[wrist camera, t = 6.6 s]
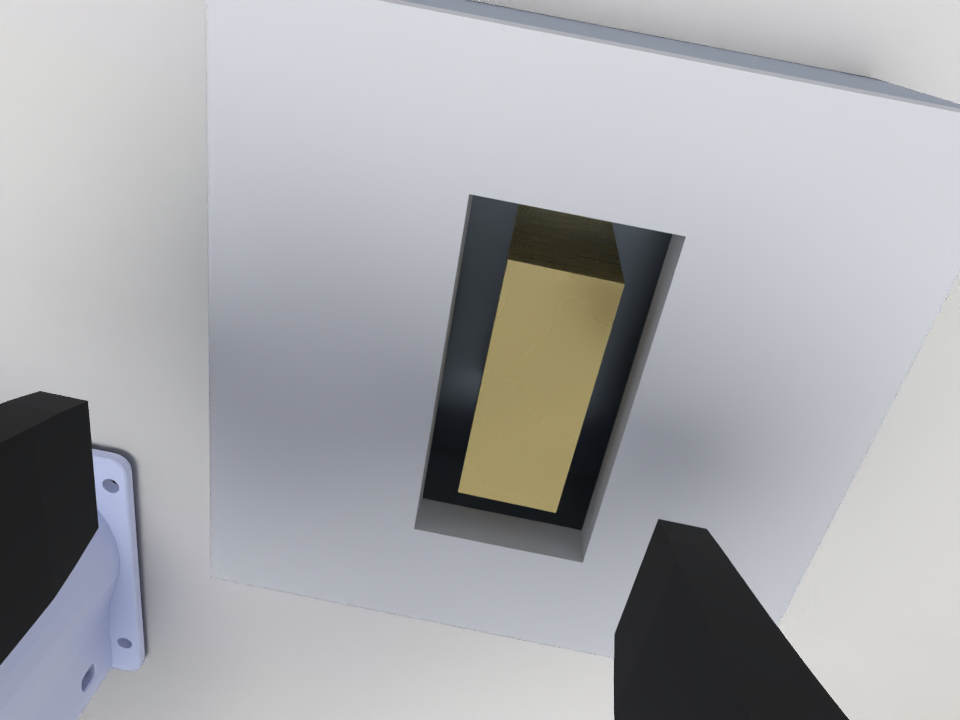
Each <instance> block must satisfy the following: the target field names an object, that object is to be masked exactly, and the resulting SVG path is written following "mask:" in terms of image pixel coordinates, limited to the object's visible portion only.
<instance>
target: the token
mask: <svg viewBox="0 0 960 720" xmlns="http://www.w3.org/2000/svg"><path fill="white" fill-rule="evenodd" d="M624 285H625V282H624V278H623V273H622V268H621V263H620V259H619V254H618V249H617V244H616V240H615V235H614V230H613V225H612V222H609V221H604V220H599V219H594V218H589V217H584V216H579V215H574V214H568V213H563V212H558V211H553V210H548V209H543V208H538V207H533V206H528V205H522V204H518V208H517V213H516V218H515V222H514V227H513V232H512V236H511V241H510V246H509V250H508V255H507V260H506V264H505V269H504V274H503V278H502V283H501V287H500V292H499V297H498V301H497V306H496V311H495V315H494V320H493V325H492V329H491V334H490V339H489V343H488V348H487V353H486V357H485V362H484V367H483V371H482V376H481V381H480V386H479V391H478V396H477V401H476V406H475V411H474V416H473V420H472V425H471V430H470V435H469V440H468V445H467V450H466V455H465V460H464V465H463V470H462V474H461V479H460V484H459V489H458V492H460V493H464V494H469V495H474V496H479V497H483V498H488V499H493V500H497V501H502V502H507V503H511V504H516V505H521V506H526V507H530V508H535V509H540V510H544V511H549V512H554V513H556V511H557V508H558V504H559V501H560V498H561V494H562V491H563V488H564V484H565V481H566V478H567V474H568V471H569V468H570V465H571V461H572V458H573V455H574V451H575V448H576V445H577V441H578V438H579V435H580V431H581V428H582V425H583V421H584V418H585V415H586V411H587V408H588V405H589V401H590V398H591V395H592V392H593V388H594V385H595V382H596V378H597V375H598V372H599V368H600V365H601V362H602V358H603V355H604V352H605V348H606V345H607V342H608V338H609V335H610V332H611V328H612V325H613V322H614V318H615V315H616V312H617V309H618V305H619V302H620V299H621V295H622V292H623V289H624Z"/></svg>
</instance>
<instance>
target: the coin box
mask: <svg viewBox="0 0 960 720" xmlns="http://www.w3.org/2000/svg"><path fill="white" fill-rule="evenodd" d="M206 26H207V154H208V283H209V411H210V539H211V577H212V578H217V579H222V580H227V581H232V582H236V583H241V584H246V585H251V586H256V587H261V588H266V589H271V590H276V591H281V592H286V593H291V594H296V595H301V596H306V597H311V598H316V599H321V600H326V601H331V602H336V603H341V604H346V605H351V606H356V607H361V608H366V609H371V610H375V611H380V612H385V613H390V614H395V615H400V616H405V617H410V618H415V619H420V620H425V621H430V622H435V623H440V624H445V625H450V626H455V627H460V628H465V629H470V630H475V631H480V632H485V633H490V634H495V635H500V636H505V637H510V638H515V639H519V640H524V641H529V642H534V643H539V644H544V645H549V646H554V647H559V648H564V649H569V650H574V651H579V652H584V653H589V654H594V655H599V656H604V657H609V658H614V634H615V631H616V629H617V626H618V623H619V621H620V618H621V615H622V613H623V610H624V608H625V605H626V602H627V600H628V597H629V594H630V592H631V589H632V587H633V584H634V581H635V579H636V576H637V573H638V571H639V568H640V566H641V563H642V560H643V558H644V555H645V552H646V550H647V547H648V545H649V542H650V539H651V537H652V534H653V531H654V529H655V526H656V524H657V521H658V519H662V520H667V521H672V522H676V523H681V524H686V525H691V526H696V527H701V528H706V529H707V530H708V531H709V532H710V534H711V535H712V536H713V538H714V539H715V540H716V542H717V543H718V544H719V546H720V547H721V548H722V550H723V551H724V553H725V554H726V555H727V557H728V558H729V560H730V561H731V562H732V564H733V565H734V567H735V568H736V569H737V571H738V572H739V574H740V575H741V577H742V578H743V579H744V581H745V582H746V584H747V585H748V586H749V588H750V589H751V591H752V592H753V593H754V595H755V596H756V598H757V599H758V600H759V602H760V603H761V604H762V606H763V607H764V609H765V610H766V611H767V613H768V614H769V616H770V617H771V618H772V620H773V621H774V623H775V624H776V625H777V626H778V624H779V622H780V620H781V618H782V616H783V615H784V613H785V611H786V609H787V607H788V605H789V603H790V601H791V599H792V597H793V595H794V593H795V591H796V589H797V587H798V585H799V583H800V581H801V579H802V578H803V576H804V574H805V572H806V570H807V568H808V566H809V564H810V562H811V560H812V558H813V556H814V554H815V552H816V550H817V548H818V546H819V544H820V543H821V541H822V539H823V537H824V535H825V533H826V531H827V529H828V527H829V525H830V523H831V521H832V519H833V517H834V515H835V513H836V511H837V509H838V507H839V506H840V504H841V502H842V500H843V498H844V496H845V494H846V492H847V490H848V488H849V486H850V484H851V482H852V480H853V478H854V476H855V474H856V472H857V471H858V469H859V467H860V465H861V463H862V461H863V459H864V457H865V455H866V453H867V451H868V449H869V447H870V445H871V443H872V441H873V439H874V437H875V435H876V434H877V432H878V430H879V428H880V426H881V424H882V422H883V420H884V418H885V416H886V414H887V412H888V410H889V408H890V406H891V404H892V402H893V400H894V399H895V397H896V395H897V393H898V391H899V389H900V387H901V385H902V383H903V381H904V379H905V377H906V375H907V373H908V371H909V369H910V367H911V365H912V364H913V362H914V360H915V358H916V356H917V354H918V352H919V350H920V348H921V346H922V344H923V342H924V340H925V338H926V336H927V334H928V332H929V330H930V328H931V327H932V325H933V323H934V321H935V319H936V317H937V315H938V313H939V311H940V309H941V307H942V305H943V303H944V301H945V299H946V297H947V295H948V293H949V292H950V290H951V288H952V286H953V284H954V282H955V280H956V278H957V276H958V274H959V272H960V104H957V103H953V102H950V101H947V100H943V99H940V98H937V97H934V96H930V95H927V94H924V93H920V92H917V91H914V90H911V89H907V88H904V87H901V86H897V85H894V84H891V83H888V82H884V81H881V80H878V79H874V78H870V77H865V76H859V75H854V74H849V73H844V72H839V71H834V70H828V69H823V68H818V67H813V66H808V65H802V64H797V63H792V62H787V61H782V60H777V59H771V58H766V57H761V56H756V55H751V54H746V53H740V52H735V51H730V50H725V49H720V48H714V47H709V46H704V45H699V44H694V43H689V42H683V41H678V40H673V39H668V38H663V37H657V36H652V35H647V34H642V33H637V32H632V31H626V30H621V29H616V28H611V27H606V26H601V25H595V24H590V23H585V22H580V21H575V20H569V19H564V18H559V17H554V16H549V15H544V14H538V13H533V12H528V11H523V10H518V9H512V8H507V7H502V6H497V5H492V4H487V3H481V2H476V1H471V0H206ZM518 204H522V205H528V206H533V207H538V208H543V209H548V210H553V211H558V212H563V213H568V214H574V215H579V216H584V217H589V218H594V219H599V220H604V221H609V222H612V225H613V230H614V235H615V240H616V244H617V249H618V254H619V259H620V263H621V268H622V273H623V278H624V282H625V285H624V289H623V292H622V295H621V299H620V302H619V305H618V309H617V312H616V315H615V318H614V322H613V325H612V328H611V332H610V335H609V338H608V342H607V345H606V348H605V352H604V355H603V358H602V362H601V365H600V368H599V372H598V375H597V378H596V382H595V385H594V388H593V392H592V395H591V398H590V401H589V405H588V408H587V411H586V415H585V418H584V421H583V425H582V428H581V431H580V435H579V438H578V441H577V445H576V448H575V451H574V455H573V458H572V461H571V465H570V468H569V471H568V474H567V478H566V481H565V484H564V488H563V491H562V494H561V498H560V501H559V504H558V508H557V511H556V513H554V512H549V511H544V510H540V509H535V508H530V507H526V506H521V505H516V504H511V503H507V502H502V501H497V500H493V499H488V498H483V497H479V496H474V495H469V494H464V493H460V492H458V489H459V484H460V479H461V474H462V470H463V465H464V460H465V455H466V450H467V445H468V440H469V435H470V430H471V425H472V420H473V416H474V411H475V406H476V401H477V396H478V391H479V386H480V381H481V376H482V371H483V367H484V362H485V357H486V353H487V348H488V343H489V339H490V334H491V329H492V325H493V320H494V315H495V311H496V306H497V301H498V297H499V292H500V287H501V283H502V278H503V274H504V269H505V264H506V260H507V255H508V250H509V246H510V241H511V236H512V232H513V227H514V222H515V218H516V213H517V208H518Z"/></svg>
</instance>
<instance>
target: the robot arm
mask: <svg viewBox="0 0 960 720" xmlns="http://www.w3.org/2000/svg"><path fill="white" fill-rule="evenodd" d="M110 479H111V480H114V481H115V482H116V483H117V484H118V485H117V484H115V483H113V482H112V481H111V480H110ZM144 659H145V650H144V636H143V622H142V608H141V594H140V579H139V565H138V551H137V537H136V523H135V509H134V495H133V481H132V469H131V465H130V463H129V462H128V461H127V459H125V458H124V457H123V456H121V455H119V454H116V453H112V452H107V451H102V450H97V449H92V443H91V432H90V420H89V409H88V401H85V400H80V399H75V398H71V397H66V396H61V395H56V394H51V393H46V392H42V391H39V392H36V393H32V394H29V395H26V396H22V397H19V398H16V399H13V400H10V401H7V402H4V403H2V404H0V720H77V719H78V717H79V716H80V714H81V713H82V711H83V710H84V708H85V707H86V705H87V704H88V702H89V701H90V699H91V698H92V696H93V695H94V693H95V692H96V690H97V689H98V687H99V686H100V684H101V683H102V681H103V679H104V678H105V676H106V675H107V673H108V672H109V670H110V669H111V668H116V669H121V670H126V671H135V670H138V669H139V668H140V667H141V665H142V663H143V662H144ZM614 717H615V720H849V719H848V718H847V717H846V715H845V714H844V713H843V712H842V710H841V709H840V708H839V707H838V705H837V704H836V703H835V702H834V700H833V699H832V698H831V696H830V695H829V694H828V693H827V691H826V690H825V689H824V688H823V686H822V685H821V684H820V682H819V681H818V680H817V679H816V677H815V676H814V675H813V673H812V672H811V671H810V669H809V668H808V667H807V666H806V664H805V663H804V662H803V660H802V659H801V658H800V656H799V655H798V654H797V652H796V651H795V650H794V648H793V647H792V646H791V644H790V643H789V642H788V640H787V639H786V638H785V636H784V635H783V633H782V632H781V631H780V629H779V628H778V627H777V625H776V624H775V623H774V621H773V620H772V618H771V617H770V616H769V614H768V613H767V611H766V610H765V609H764V607H763V606H762V604H761V603H760V602H759V600H758V599H757V598H756V596H755V595H754V593H753V592H752V591H751V589H750V588H749V586H748V585H747V584H746V582H745V581H744V579H743V578H742V577H741V575H740V574H739V572H738V571H737V569H736V568H735V567H734V565H733V564H732V562H731V561H730V560H729V558H728V557H727V555H726V554H725V553H724V551H723V550H722V548H721V547H720V546H719V544H718V543H717V542H716V540H715V539H714V538H713V536H712V535H711V534H710V532H709V531H708V530H707V529H706V528H701V527H696V526H691V525H686V524H681V523H676V522H672V521H667V520H662V519H658V521H657V524H656V526H655V529H654V531H653V534H652V537H651V539H650V542H649V545H648V547H647V550H646V552H645V555H644V558H643V560H642V563H641V566H640V568H639V571H638V573H637V576H636V579H635V581H634V584H633V587H632V589H631V592H630V594H629V597H628V600H627V602H626V605H625V608H624V610H623V613H622V615H621V618H620V621H619V623H618V626H617V629H616V631H615V634H614Z"/></svg>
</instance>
